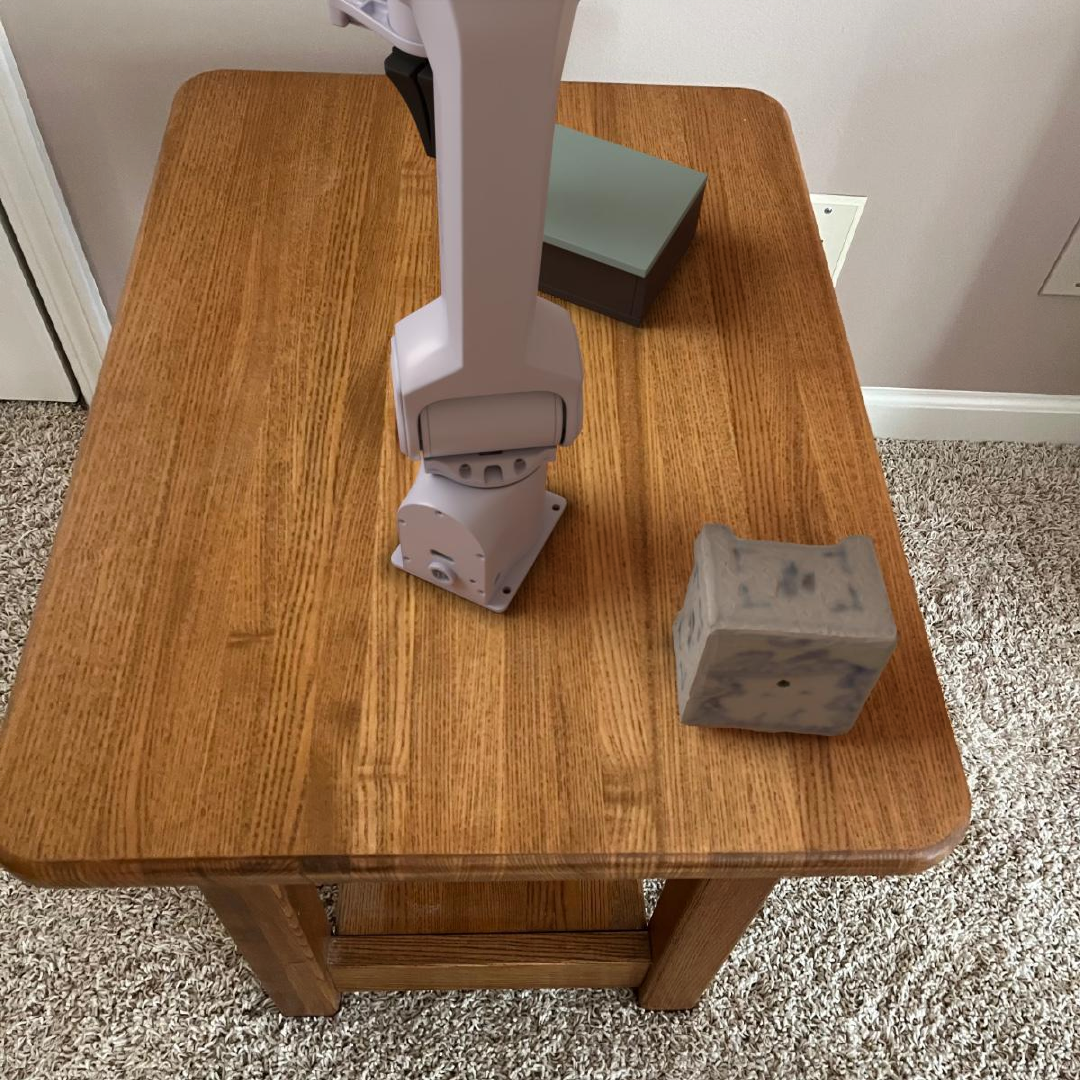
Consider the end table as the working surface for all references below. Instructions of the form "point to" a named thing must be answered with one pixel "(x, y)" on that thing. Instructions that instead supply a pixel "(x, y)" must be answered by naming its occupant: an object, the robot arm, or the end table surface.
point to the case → (615, 275)
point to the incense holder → (781, 633)
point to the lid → (615, 200)
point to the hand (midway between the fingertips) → (441, 150)
